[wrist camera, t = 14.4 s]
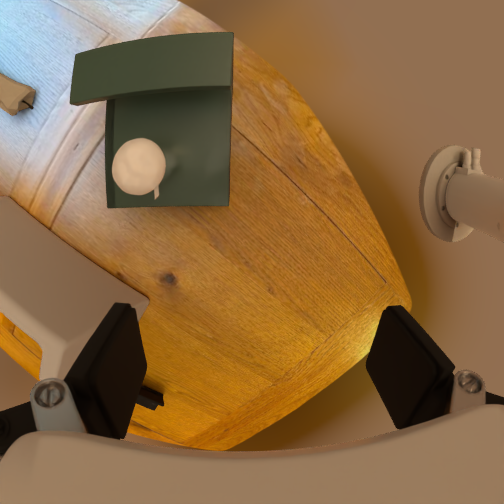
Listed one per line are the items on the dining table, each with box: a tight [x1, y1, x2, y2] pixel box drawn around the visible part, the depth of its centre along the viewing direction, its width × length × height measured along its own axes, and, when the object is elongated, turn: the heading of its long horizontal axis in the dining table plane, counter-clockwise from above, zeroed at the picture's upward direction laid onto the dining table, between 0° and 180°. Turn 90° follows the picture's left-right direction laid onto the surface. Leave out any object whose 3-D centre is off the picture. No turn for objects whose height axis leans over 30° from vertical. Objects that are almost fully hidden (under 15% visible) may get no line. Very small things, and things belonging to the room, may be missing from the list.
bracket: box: [0, 196, 149, 380], centre depth 29 cm, size 30×10×30 cm, turn 55°
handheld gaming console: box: [136, 385, 164, 410], centre depth 46 cm, size 12×7×10 cm
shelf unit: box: [70, 32, 234, 208], centre depth 26 cm, size 16×14×16 cm
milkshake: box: [112, 138, 177, 200], centre depth 23 cm, size 4×5×10 cm
